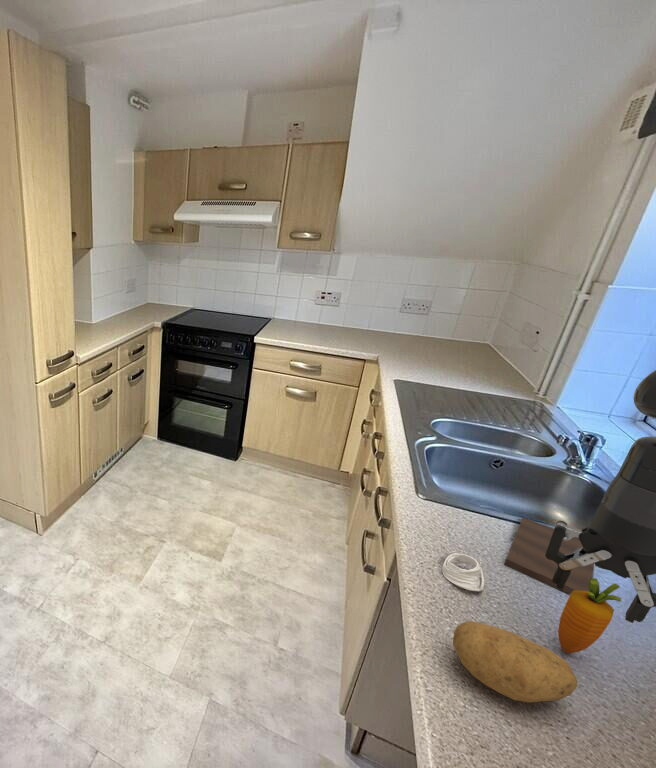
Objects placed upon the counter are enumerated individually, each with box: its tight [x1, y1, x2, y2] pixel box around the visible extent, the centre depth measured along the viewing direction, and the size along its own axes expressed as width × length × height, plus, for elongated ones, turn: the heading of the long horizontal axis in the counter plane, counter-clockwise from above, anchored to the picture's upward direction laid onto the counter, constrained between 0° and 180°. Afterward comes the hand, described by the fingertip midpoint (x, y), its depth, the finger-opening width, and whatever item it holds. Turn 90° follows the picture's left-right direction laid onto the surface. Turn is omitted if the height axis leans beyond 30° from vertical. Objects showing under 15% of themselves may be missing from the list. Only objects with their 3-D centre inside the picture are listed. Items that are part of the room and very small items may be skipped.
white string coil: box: [441, 552, 485, 592], centre depth 79 cm, size 8×7×5 cm
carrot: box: [557, 577, 623, 654], centre depth 63 cm, size 5×5×15 cm
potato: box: [452, 620, 579, 703], centre depth 60 cm, size 10×14×8 cm
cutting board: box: [503, 516, 595, 595], centre depth 85 cm, size 20×12×2 cm, turn 132°
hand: (592, 601), depth 62 cm, fingers open, 7 cm apart
